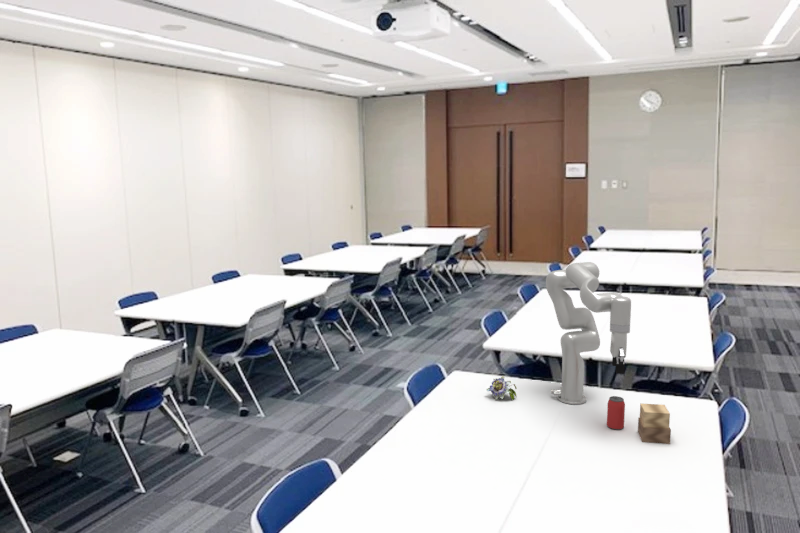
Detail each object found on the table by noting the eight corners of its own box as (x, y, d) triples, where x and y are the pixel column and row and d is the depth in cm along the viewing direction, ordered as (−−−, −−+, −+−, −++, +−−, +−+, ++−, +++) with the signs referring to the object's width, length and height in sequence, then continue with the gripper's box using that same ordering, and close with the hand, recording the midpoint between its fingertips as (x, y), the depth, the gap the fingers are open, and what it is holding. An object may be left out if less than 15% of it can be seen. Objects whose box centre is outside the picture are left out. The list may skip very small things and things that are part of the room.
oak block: (643, 427, 238) (644, 412, 237) (639, 417, 246) (640, 403, 245) (669, 428, 236) (669, 413, 235) (663, 419, 245) (664, 404, 244)
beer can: (620, 423, 255) (621, 395, 254) (626, 430, 249) (627, 401, 247) (604, 423, 255) (605, 395, 253) (610, 430, 249) (611, 401, 247)
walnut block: (642, 442, 238) (642, 427, 237) (637, 431, 248) (638, 417, 247) (669, 444, 236) (670, 429, 235) (664, 433, 246) (665, 419, 245)
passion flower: (496, 411, 284) (481, 389, 284) (505, 399, 293) (490, 378, 293) (515, 402, 277) (499, 380, 278) (523, 390, 286) (508, 369, 286)
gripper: (607, 322, 255) (605, 362, 257) (613, 333, 238) (611, 376, 241) (626, 323, 253) (624, 363, 256) (633, 333, 237) (631, 377, 239)
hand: (618, 369), depth 248 cm, fingers open, 9 cm apart
